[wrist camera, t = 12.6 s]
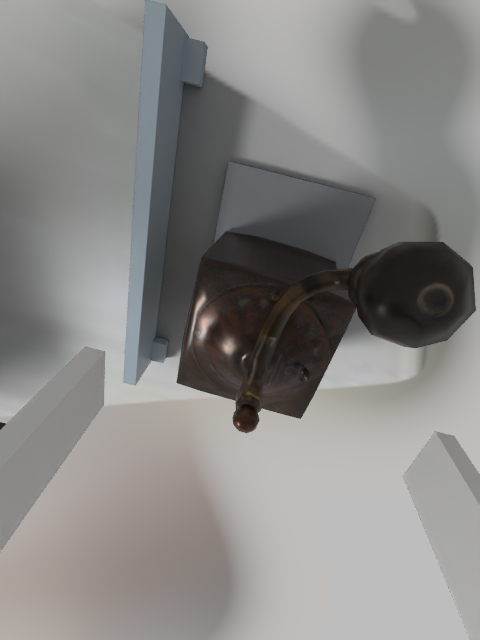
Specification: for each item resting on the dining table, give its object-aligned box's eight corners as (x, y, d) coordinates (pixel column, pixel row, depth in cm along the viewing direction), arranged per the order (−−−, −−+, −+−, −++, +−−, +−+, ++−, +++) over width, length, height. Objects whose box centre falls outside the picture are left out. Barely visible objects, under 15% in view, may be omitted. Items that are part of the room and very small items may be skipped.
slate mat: (198, 328, 32) (197, 331, 32) (229, 161, 25) (228, 161, 25) (309, 356, 33) (310, 360, 32) (373, 197, 25) (375, 198, 25)
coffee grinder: (303, 357, 32) (329, 551, 16) (200, 328, 32) (120, 496, 16) (370, 202, 25) (537, 274, 9) (237, 163, 25) (160, 165, 9)
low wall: (131, 351, 35) (109, 379, 30) (153, 27, 22) (121, -7, 17) (165, 360, 35) (149, 388, 30) (208, 41, 22) (190, 10, 17)
